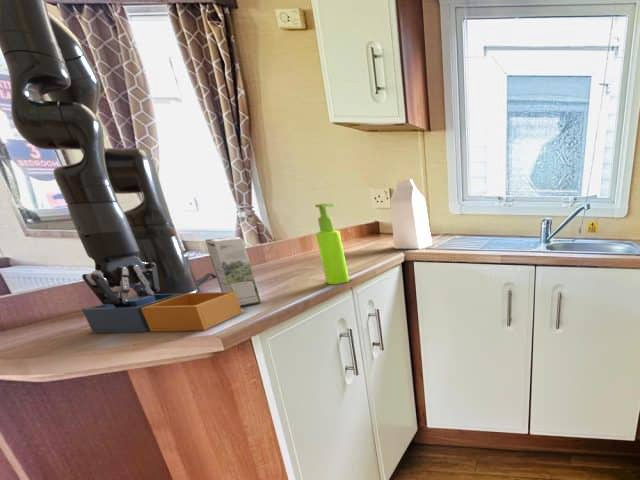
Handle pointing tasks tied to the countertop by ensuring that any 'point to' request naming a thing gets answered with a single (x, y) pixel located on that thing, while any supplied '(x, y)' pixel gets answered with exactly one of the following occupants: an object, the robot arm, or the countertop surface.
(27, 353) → the countertop surface
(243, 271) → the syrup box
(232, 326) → the countertop surface
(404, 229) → the milk
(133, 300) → the slate block
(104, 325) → the slate bin
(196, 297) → the honey bin
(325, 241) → the soap dispenser
